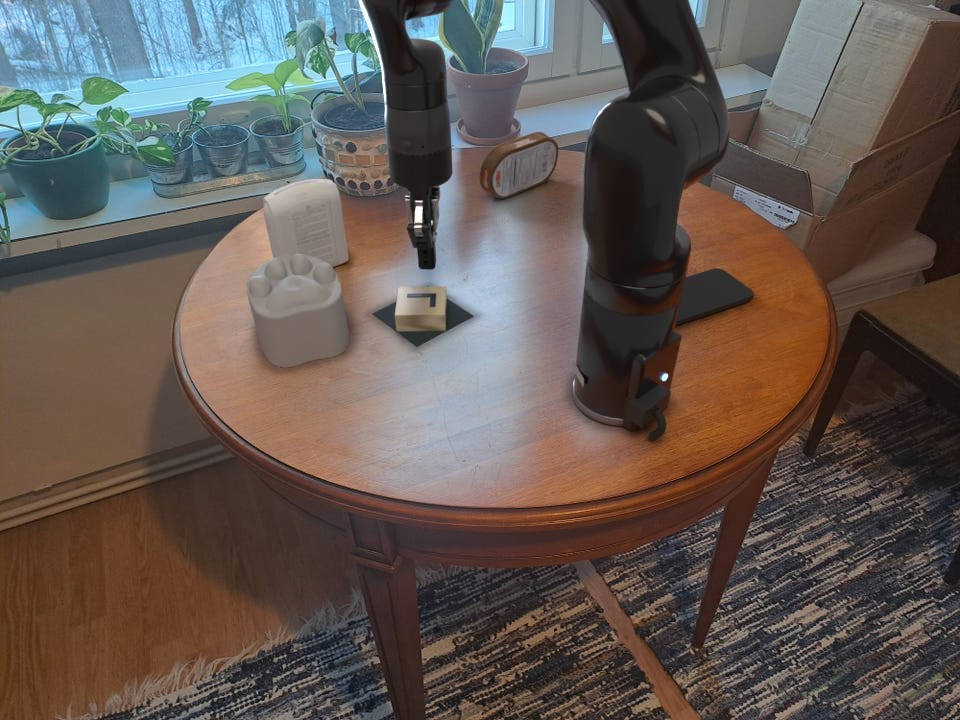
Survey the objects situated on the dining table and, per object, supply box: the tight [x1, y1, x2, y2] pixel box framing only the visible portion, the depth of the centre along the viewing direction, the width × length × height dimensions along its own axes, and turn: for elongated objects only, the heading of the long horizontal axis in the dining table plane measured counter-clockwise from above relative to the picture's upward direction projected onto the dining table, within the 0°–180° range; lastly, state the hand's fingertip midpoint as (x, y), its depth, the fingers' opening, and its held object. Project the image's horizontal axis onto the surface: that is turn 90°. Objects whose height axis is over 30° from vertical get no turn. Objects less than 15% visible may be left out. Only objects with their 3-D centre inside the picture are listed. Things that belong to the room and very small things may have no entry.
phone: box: [675, 268, 755, 327], centre depth 90 cm, size 7×1×15 cm
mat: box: [372, 285, 474, 347], centre depth 89 cm, size 9×9×1 cm
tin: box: [479, 131, 559, 199], centre depth 112 cm, size 15×3×8 cm, turn 130°
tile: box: [395, 285, 448, 332], centre depth 87 cm, size 6×6×3 cm
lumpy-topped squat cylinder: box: [246, 253, 351, 369], centre depth 84 cm, size 10×13×9 cm
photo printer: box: [262, 178, 349, 268], centre depth 93 cm, size 10×4×12 cm, turn 123°
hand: (427, 266), depth 93 cm, fingers closed
